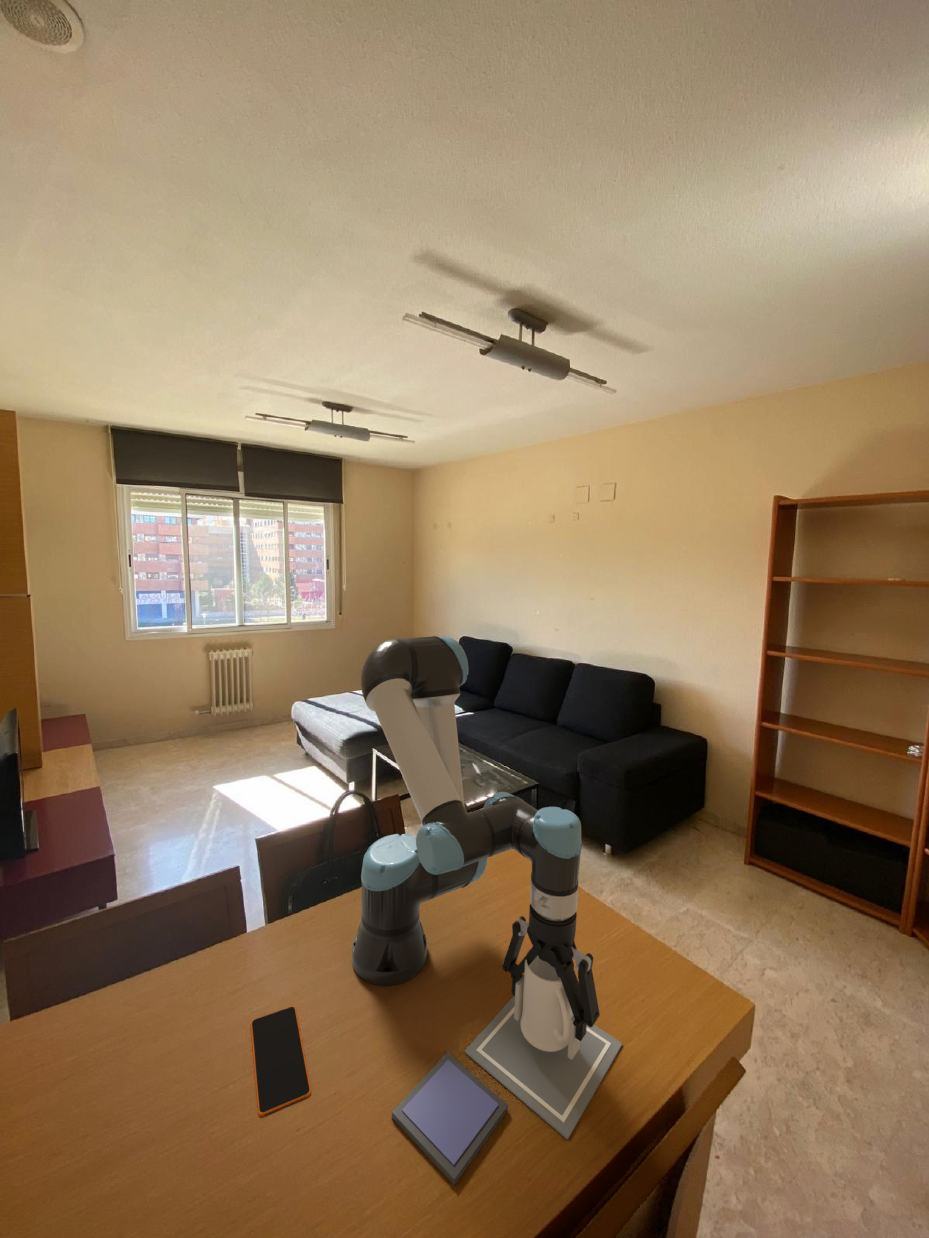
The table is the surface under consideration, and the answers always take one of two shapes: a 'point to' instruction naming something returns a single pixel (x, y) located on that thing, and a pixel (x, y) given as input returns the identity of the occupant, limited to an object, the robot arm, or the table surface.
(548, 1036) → the mug
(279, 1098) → the smartphone
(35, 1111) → the table surface
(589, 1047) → the print mat
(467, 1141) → the ink pad
